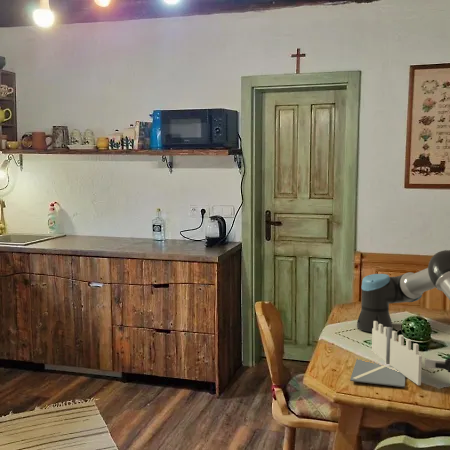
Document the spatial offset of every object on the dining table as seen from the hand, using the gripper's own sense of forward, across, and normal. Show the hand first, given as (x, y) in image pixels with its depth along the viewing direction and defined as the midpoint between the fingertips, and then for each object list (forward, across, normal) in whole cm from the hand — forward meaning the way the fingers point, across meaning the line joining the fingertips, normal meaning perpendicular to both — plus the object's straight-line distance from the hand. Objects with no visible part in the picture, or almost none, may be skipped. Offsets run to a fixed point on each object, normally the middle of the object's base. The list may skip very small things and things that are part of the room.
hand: (425, 362), depth 194 cm
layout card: (+15, +9, -6) cm, 19 cm away
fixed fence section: (+16, +17, -6) cm, 24 cm away
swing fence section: (+7, +2, -6) cm, 9 cm away
